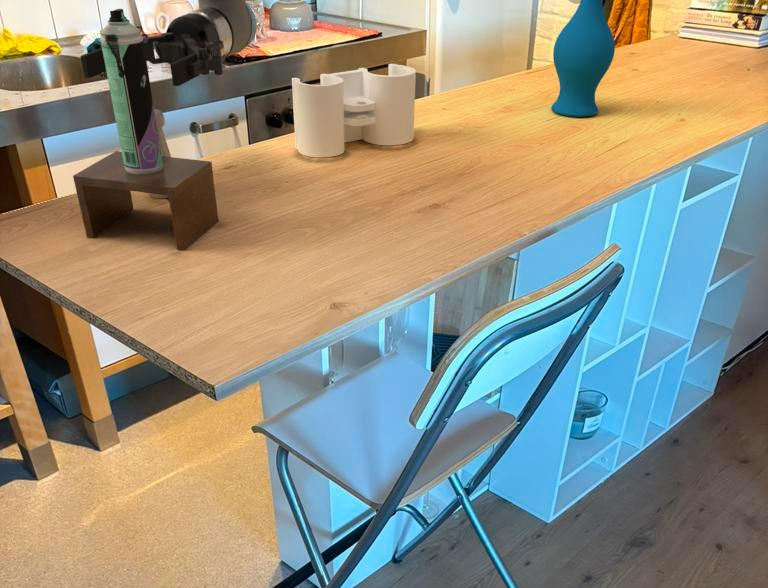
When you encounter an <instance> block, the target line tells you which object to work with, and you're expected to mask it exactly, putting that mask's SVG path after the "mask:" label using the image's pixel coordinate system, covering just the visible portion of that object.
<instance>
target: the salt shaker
mask: <svg viewBox="0 0 768 588" xmlns="http://www.w3.org/2000/svg"><path fill="white" fill-rule="evenodd" d="M154 112H155V118H156V124H157V130H158V137H159V143H160V149H161V156H165V157H172V155H171V152H170V148H169V145H168V143H167V139H166V136H165V133H164V130H163V128H164V126H165V123H166V121H165V117H164V113H163V112H162V111H161V110H160V109H157V108H154ZM148 194H149V196H150V198H154V199H159V200H161V199H169V197H168V195H160V194H152V193H148Z"/></svg>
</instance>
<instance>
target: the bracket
mask: <svg viewBox="0 0 768 588" xmlns="http://www.w3.org/2000/svg"><path fill="white" fill-rule="evenodd" d="M387 74H388V75H387ZM387 74H386V75H384V74H375V73H371V72H370V71H368V68H366V67H359V68H358V69H353V70H348V71H340V72H333V73H320V75H319V76H320V78H319V79H320V84H309V83H304V82H301V79H300V78H298V77H292V78H291V92H292V109H293V111H292V112H293V123H294V124H293V126H294V145H295V150H297V151H298V153H299V154H300V155H302V156H305V157H309V158H332V157H337V156H339V155H340V156H341V155H342V154H344V152H345V150H346V149H345V143H350V142H355V141H361V140H363V141H364V142H366V143H369V144H373V145H377V146H400V145H406V144H409V143H410V142H412V141H414V138H415V137H414V136H415V135H414V134H415V110H416V109H415V106H416V81H417V80H416V79H417V78H416V77H417V76H416V75H417V71H416V69H415V68H414V67H411V66H408V65H402V64H397V63H388V73H387Z"/></svg>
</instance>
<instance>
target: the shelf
mask: <svg viewBox="0 0 768 588" xmlns="http://www.w3.org/2000/svg"><path fill="white" fill-rule="evenodd" d="M162 162H163V169H162V170H160V171H158V172H155V173H151V174H132V173H128V172H127V171H126V170H125V167H124V162H123V156H122V151H121V150H120V151H119V150H116V151H114V152H111V153H110V154H109V155H106V156H105V157H103V158H102V159H100V160H98V161H96V162H94V163H93V164H91V165H89V166H87V167H85V168H84V169H83V170H81V171H79V172H77V173H75V174H73V175H72V178H73V183H74V186H75V192H76V195H77V196H76V197H77V200H78V205H79V208H80V212H81V218H82V221H83V227H84V230H85V235H86V238H90V239H95V238H96V237H98V236H99V235H101V234H102V233H103V232H105V231H106V230H108V229H109V228H111V227H112V226H114V225H116V224H117V223H119V221H121V220H123V219H124V218H125V217H127V216H128V215H129V214H131V213H133V212H134V211H135V209H134V203H133V198H132V193H131V192H135V193H136V192H137V193H143V194H144V193H146V194H149V193H152V194H160V195H168V203H169V208H170V216H171V223H172V228H173V235H174V242H175V246H176V247H175V248H176V250H177V251H185V250H186V249H188V248H189V247H190V246H191V245H192V244H193V243H194V242H196V241H197V240H198V239H200V238H201V237H202V236H203V235H204V234H206V233H207V232H208V231H209V230H210V229H211V228H212V227H213V226H214V225H216V224H217V223H219V214H218V213H219V212H218V204H217V195H216V187H215V180H214V170H213V162H212V161H209V160H200V159H193V158H192V159H190V158H182V157H172V156H171V157H165V156H162Z"/></svg>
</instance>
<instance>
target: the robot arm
mask: <svg viewBox="0 0 768 588" xmlns="http://www.w3.org/2000/svg"><path fill="white" fill-rule="evenodd" d="M246 1H248V2H251V1H253V2H254V0H197V2H198V8H197V9H195V10H192V11H189V12H188V13H186V14H183V15H180V16H178V17H176V18H174V19H173V20H172V21H171V22H170V23H169V24H168V26H167V29H166V32H163V33H161V34H159V35H151V36H149V35H148V34H147V33H142V34H141V35H142V37H143V42H144V49H145V55H146V61H147V62H148V63H150V64H152V65H159V64H168V65H169V66H170V67H169V68H170V72H171V73H170V74H171V79H172V86H173V87H180V86H182V85H184V84H186V83H187V82H190V81H192V80H193V79H196V78H198V77H199V76H200V75H203V76H207V75H210V71H211V72H213V73H214V75H216V76H221V75H223V74H224V71H223V69H224V68H223V62H225V60H226V58H229V57H230V56H232V55H236V54H239V53H241V52H242V51H244V49H246V48H247V47H248V46H250V45H251V43H252V42H253V41H254V39H255V37H256V35H257V29H258V28H257V26H258V22H257V18H256V16H255V15H256V14H255V13H254V11H253V9H252V6H250V5H249V3H248V2H246ZM91 48H92V51H90V52H87V53H84V54H82V55H80V56H79V57H80V62H81V66H82V72H83V76H84V78H85V79H91V78H94V77H96V76H98V75H100V74H103V73H105V72H106V66H105V61H104V56H103V51H102V45H101V42H94V43H92V44H91ZM155 55H157V56H158V57H156V56H155Z"/></svg>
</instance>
